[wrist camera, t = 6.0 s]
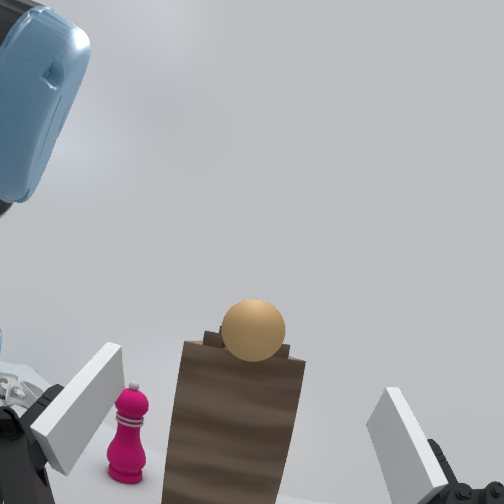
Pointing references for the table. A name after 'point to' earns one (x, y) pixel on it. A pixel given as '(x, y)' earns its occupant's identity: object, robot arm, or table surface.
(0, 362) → the table surface
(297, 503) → the table surface
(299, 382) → the stand
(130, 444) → the pepper mill
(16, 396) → the sculpture
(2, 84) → the robot arm
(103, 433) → the table surface
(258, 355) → the pin
